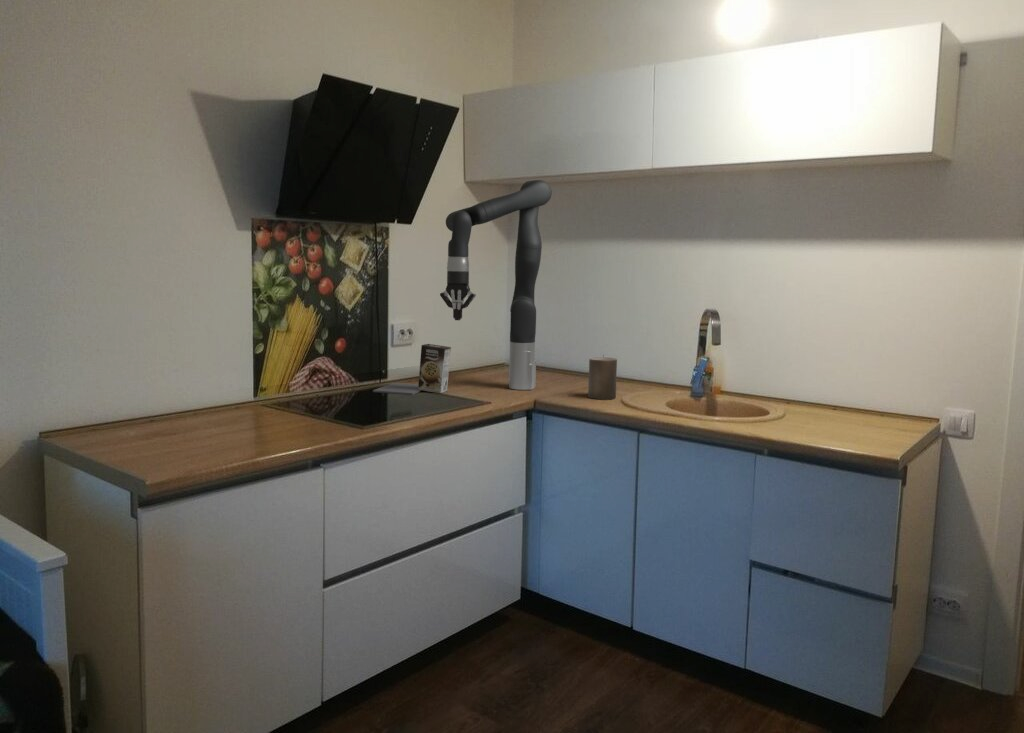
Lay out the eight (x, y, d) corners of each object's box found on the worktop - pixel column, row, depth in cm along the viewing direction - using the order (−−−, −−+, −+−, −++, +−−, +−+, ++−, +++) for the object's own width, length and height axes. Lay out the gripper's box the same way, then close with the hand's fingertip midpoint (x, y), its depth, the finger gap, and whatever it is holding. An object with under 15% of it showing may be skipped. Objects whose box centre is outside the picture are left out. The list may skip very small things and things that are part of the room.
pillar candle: (618, 399, 259) (620, 356, 258) (590, 399, 259) (591, 356, 257) (612, 395, 269) (614, 353, 267) (585, 395, 268) (587, 353, 267)
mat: (431, 386, 279) (431, 385, 279) (412, 394, 262) (412, 393, 262) (393, 384, 283) (393, 382, 283) (372, 392, 266) (372, 390, 266)
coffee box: (417, 390, 268) (420, 344, 265) (424, 387, 274) (427, 343, 271) (441, 393, 265) (444, 348, 263) (447, 390, 271) (451, 346, 269)
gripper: (479, 270, 263) (478, 320, 266) (443, 269, 267) (443, 318, 269) (472, 270, 256) (472, 321, 258) (436, 269, 259) (435, 320, 262)
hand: (457, 320), depth 264 cm, fingers closed
